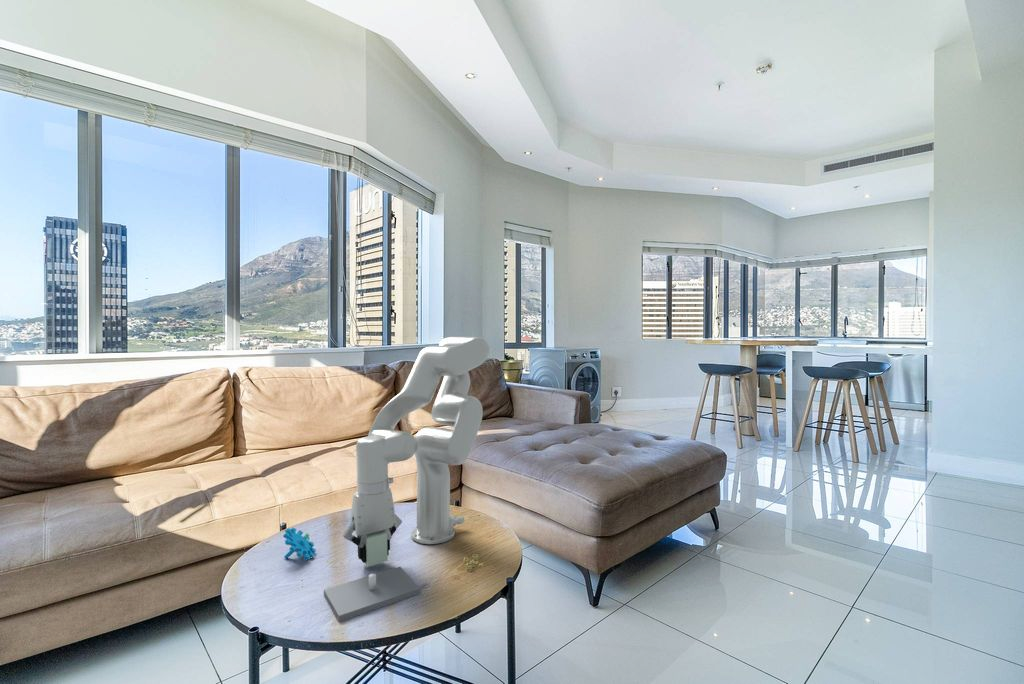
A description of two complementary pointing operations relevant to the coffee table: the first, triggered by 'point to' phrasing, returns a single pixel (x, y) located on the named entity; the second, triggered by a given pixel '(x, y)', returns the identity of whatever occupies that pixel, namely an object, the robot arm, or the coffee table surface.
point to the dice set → (471, 562)
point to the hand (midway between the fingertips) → (374, 556)
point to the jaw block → (376, 548)
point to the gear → (299, 544)
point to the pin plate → (370, 593)
